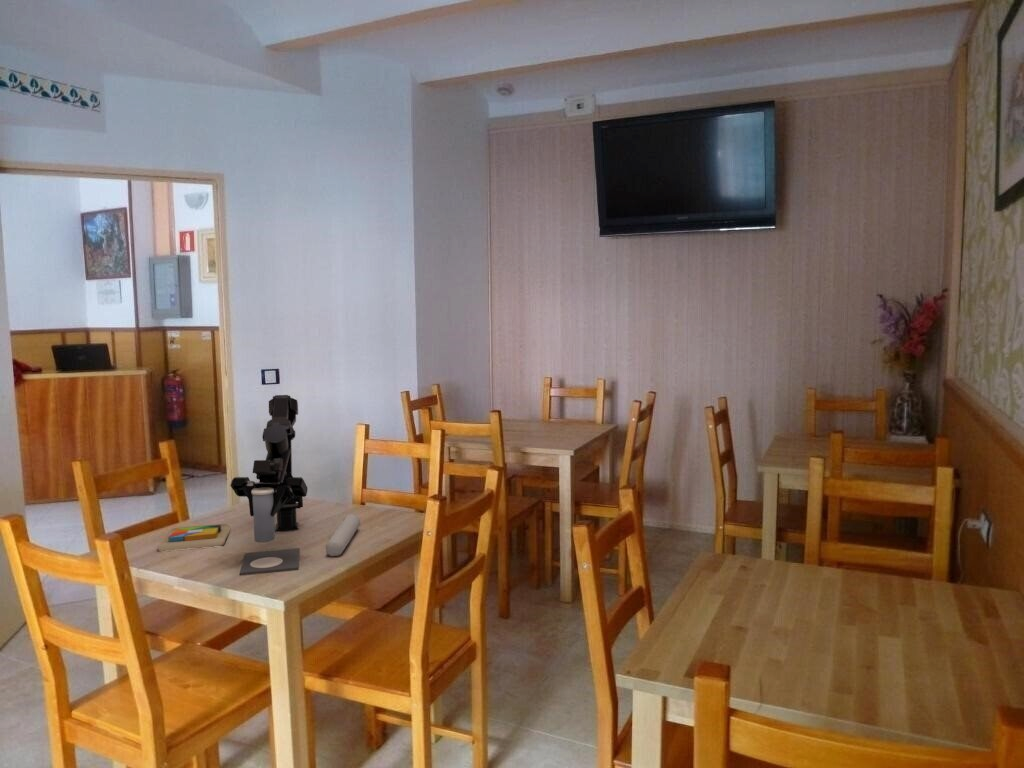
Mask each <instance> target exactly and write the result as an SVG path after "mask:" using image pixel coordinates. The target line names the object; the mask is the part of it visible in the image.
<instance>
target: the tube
mask: <svg viewBox="0 0 1024 768" xmlns="http://www.w3.org/2000/svg"><path fill="white" fill-rule="evenodd" d="M359 527H361V517H359V516H358V515H356V514H353V513H350V514H349V513H347V514H346V515H345V517H344V518H343V519H342V522H341V523H340V525H339V526H338V528H336V531H335V532H334V533H333V534H332V536H331V538H330V539H329V540H328V541H327V543H326V544H325V553H326V554H327V555H329V556H330V557H340V556H341V554H342V553H343V552H344V550H345V548H346V547H347V545H348V544H349V542H350V541H351V540H352V538H353V536H354V534H355V533H356V532H357V530H359ZM339 555H340V556H339Z"/></svg>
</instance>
